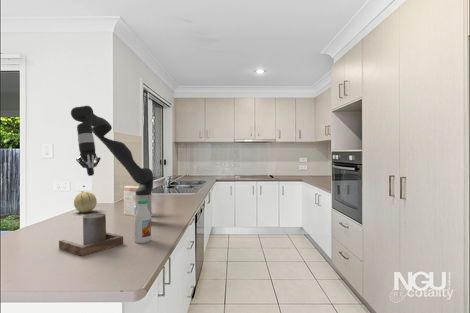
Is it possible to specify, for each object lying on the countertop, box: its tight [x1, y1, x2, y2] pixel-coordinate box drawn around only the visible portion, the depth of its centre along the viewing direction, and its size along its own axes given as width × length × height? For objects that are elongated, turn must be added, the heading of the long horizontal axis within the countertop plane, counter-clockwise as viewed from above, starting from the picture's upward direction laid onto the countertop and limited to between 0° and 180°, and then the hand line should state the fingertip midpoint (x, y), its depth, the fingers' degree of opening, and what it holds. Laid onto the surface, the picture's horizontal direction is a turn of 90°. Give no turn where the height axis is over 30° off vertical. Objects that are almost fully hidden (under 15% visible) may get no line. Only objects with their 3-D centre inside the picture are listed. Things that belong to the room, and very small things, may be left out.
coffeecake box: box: [123, 185, 139, 217], centre depth 205 cm, size 15×7×20 cm, turn 58°
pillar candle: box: [82, 212, 107, 246], centre depth 138 cm, size 10×10×15 cm
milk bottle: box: [133, 199, 152, 244], centre depth 144 cm, size 8×8×20 cm
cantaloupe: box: [73, 190, 98, 213], centre depth 212 cm, size 15×15×15 cm
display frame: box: [58, 231, 124, 257], centre depth 136 cm, size 18×20×4 cm
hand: (90, 175), depth 155 cm, fingers closed
